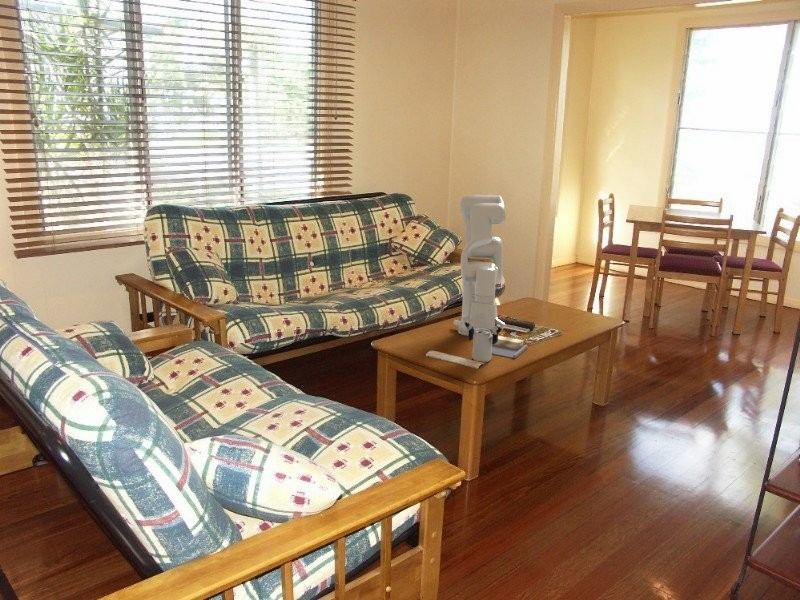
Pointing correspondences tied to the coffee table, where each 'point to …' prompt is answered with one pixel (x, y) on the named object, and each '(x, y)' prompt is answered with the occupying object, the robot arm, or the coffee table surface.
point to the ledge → (509, 342)
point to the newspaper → (454, 359)
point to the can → (482, 345)
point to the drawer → (507, 351)
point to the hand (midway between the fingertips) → (482, 341)
